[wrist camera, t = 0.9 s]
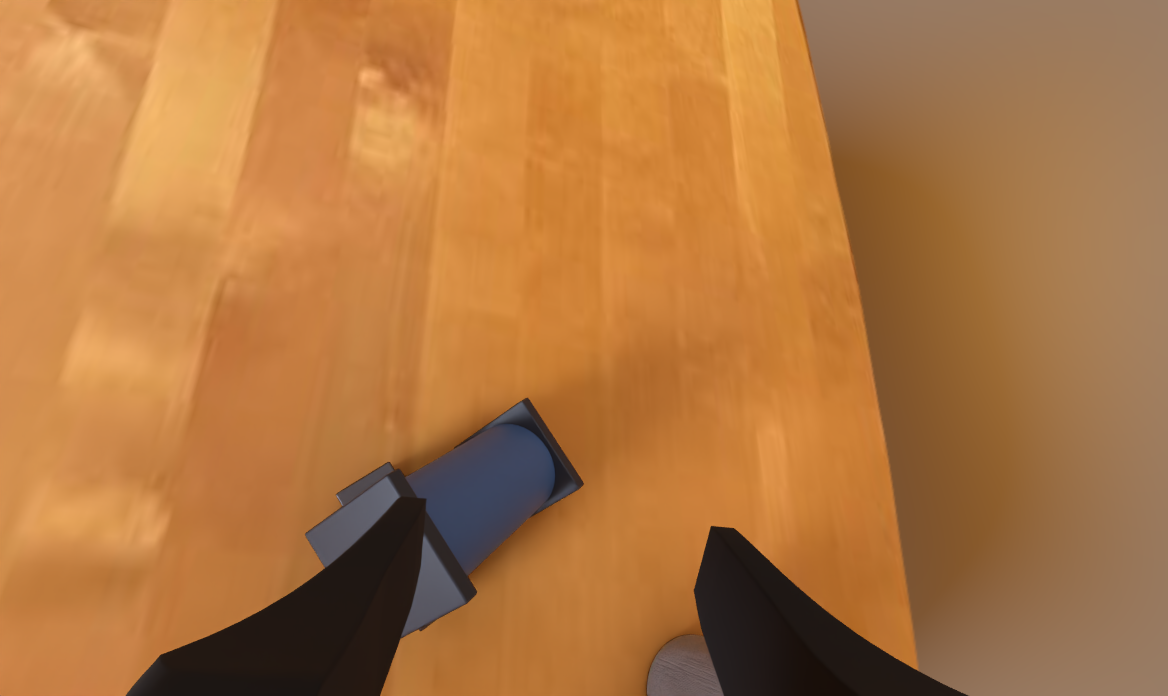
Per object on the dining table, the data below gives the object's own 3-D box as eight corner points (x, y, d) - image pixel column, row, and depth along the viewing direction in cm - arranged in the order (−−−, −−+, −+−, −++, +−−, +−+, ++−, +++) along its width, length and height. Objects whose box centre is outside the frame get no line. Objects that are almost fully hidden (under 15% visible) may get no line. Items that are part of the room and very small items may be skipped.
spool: (374, 628, 24) (378, 672, 16) (316, 535, 25) (293, 532, 16) (561, 490, 28) (640, 469, 20) (510, 412, 29) (568, 361, 21)
